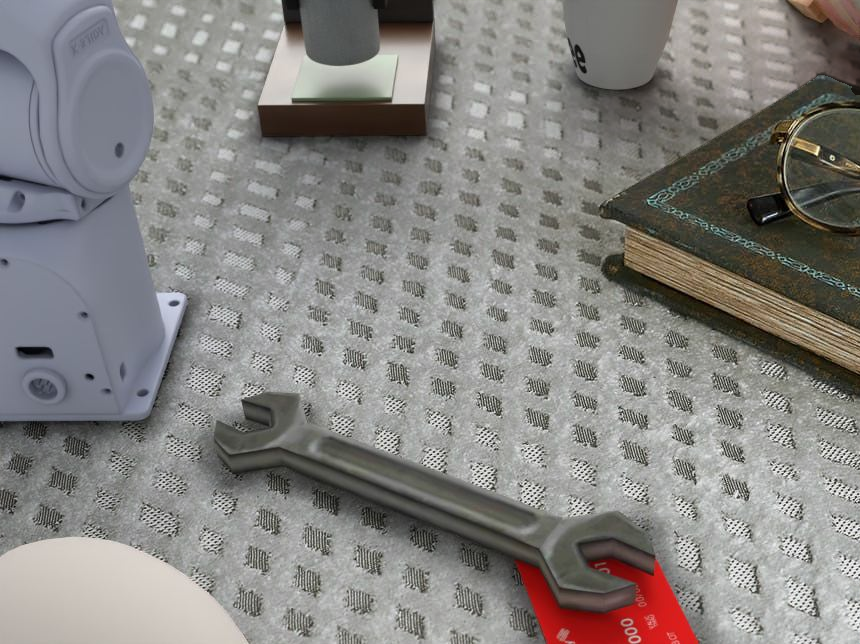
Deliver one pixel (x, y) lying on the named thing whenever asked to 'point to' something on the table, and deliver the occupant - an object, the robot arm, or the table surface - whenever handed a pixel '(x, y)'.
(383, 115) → the box with green square
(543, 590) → the credit card
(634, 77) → the cup
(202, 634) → the egg
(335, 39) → the grey hollow cylinder
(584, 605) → the wrench
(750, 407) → the table surface
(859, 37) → the planter
